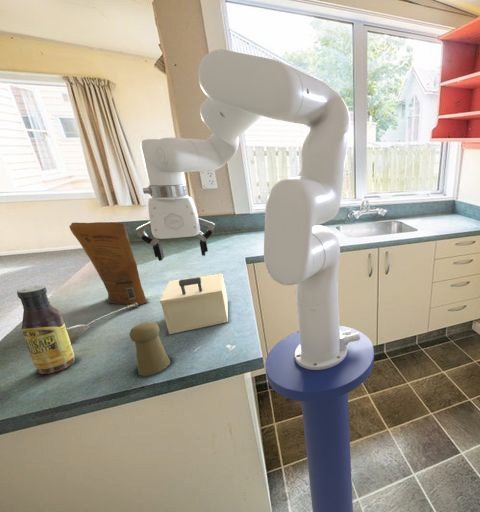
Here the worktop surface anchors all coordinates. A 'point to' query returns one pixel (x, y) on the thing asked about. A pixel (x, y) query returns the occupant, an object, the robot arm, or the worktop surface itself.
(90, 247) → the pancake mix bag
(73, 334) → the soupspoon
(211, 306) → the cream open box
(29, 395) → the worktop surface
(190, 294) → the lid
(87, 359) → the worktop surface
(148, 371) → the cork
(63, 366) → the sauce bottle
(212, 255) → the worktop surface
